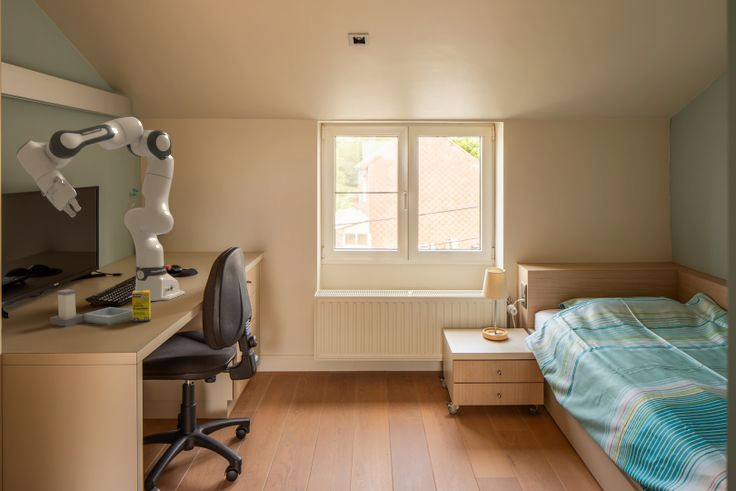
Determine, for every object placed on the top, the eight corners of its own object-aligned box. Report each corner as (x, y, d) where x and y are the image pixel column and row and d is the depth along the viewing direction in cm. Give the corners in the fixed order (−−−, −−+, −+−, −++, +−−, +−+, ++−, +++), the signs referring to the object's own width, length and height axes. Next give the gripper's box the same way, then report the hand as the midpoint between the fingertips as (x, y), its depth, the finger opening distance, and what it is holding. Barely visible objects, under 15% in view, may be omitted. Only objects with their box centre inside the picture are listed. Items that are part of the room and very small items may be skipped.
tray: (110, 314, 241) (110, 307, 240) (134, 318, 236) (134, 310, 235) (84, 321, 230) (84, 313, 229) (108, 325, 225) (108, 317, 224)
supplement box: (132, 322, 229) (131, 293, 228) (134, 318, 235) (133, 290, 233) (150, 321, 231) (149, 292, 229) (151, 317, 236) (150, 289, 235)
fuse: (68, 321, 231) (66, 289, 229) (76, 322, 229) (75, 290, 227) (58, 323, 227) (57, 291, 225) (67, 325, 225) (65, 292, 223)
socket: (77, 317, 236) (76, 310, 236) (92, 319, 233) (92, 313, 233) (50, 324, 226) (50, 317, 225) (66, 326, 222) (65, 319, 222)
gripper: (64, 170, 223) (89, 202, 225) (55, 185, 239) (78, 214, 242) (48, 179, 219) (74, 211, 222) (40, 193, 236) (64, 223, 238)
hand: (76, 213), depth 232 cm, fingers open, 8 cm apart
